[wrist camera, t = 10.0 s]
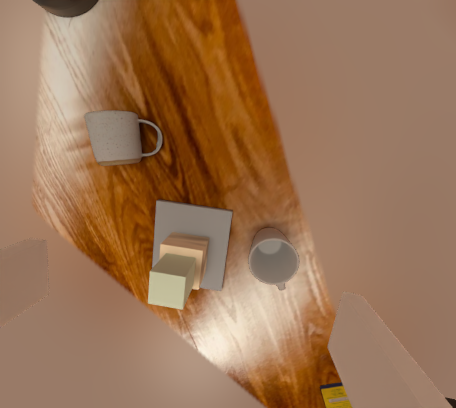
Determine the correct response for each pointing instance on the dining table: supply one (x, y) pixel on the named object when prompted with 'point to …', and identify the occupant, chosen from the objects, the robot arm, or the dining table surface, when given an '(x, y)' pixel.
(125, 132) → the ceramic mug
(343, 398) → the supplement box
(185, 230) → the board
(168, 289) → the sage block
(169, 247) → the base block
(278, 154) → the dining table surface
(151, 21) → the dining table surface
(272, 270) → the cup
